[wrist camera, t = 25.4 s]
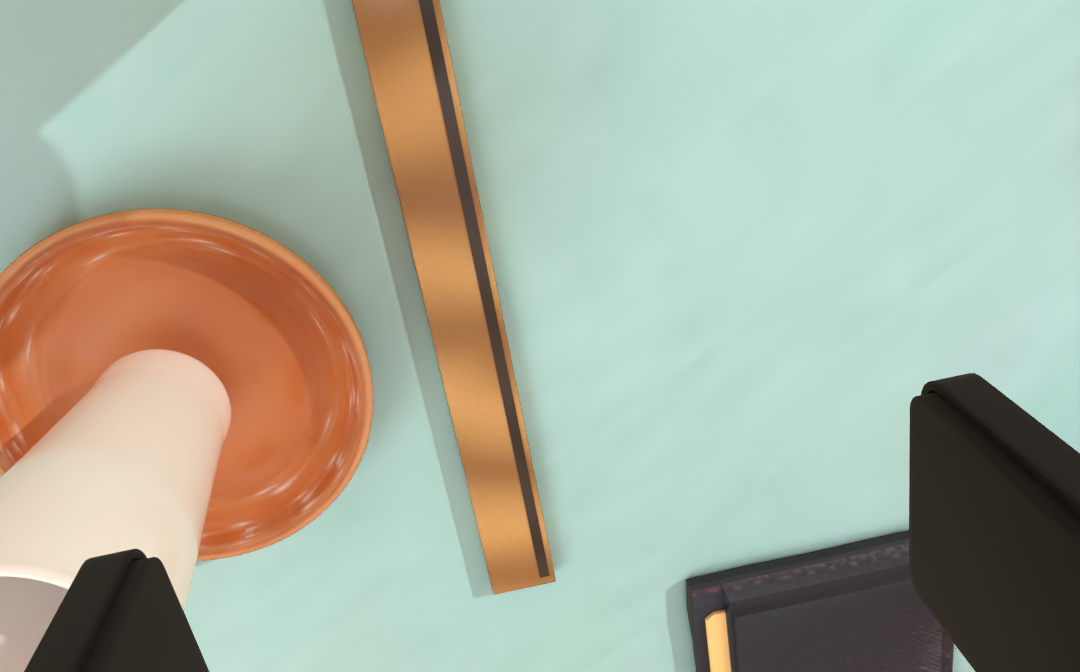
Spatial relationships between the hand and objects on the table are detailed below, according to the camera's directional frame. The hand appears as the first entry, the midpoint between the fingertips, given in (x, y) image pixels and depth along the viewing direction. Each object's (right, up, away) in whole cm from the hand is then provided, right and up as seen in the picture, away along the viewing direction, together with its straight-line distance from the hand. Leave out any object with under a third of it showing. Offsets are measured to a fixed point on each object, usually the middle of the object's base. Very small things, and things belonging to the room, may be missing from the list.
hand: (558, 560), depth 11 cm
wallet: (+16, -17, +41) cm, 47 cm away
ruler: (-4, +4, +29) cm, 29 cm away
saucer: (-16, +1, +29) cm, 33 cm away
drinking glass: (-15, 0, +26) cm, 30 cm away
